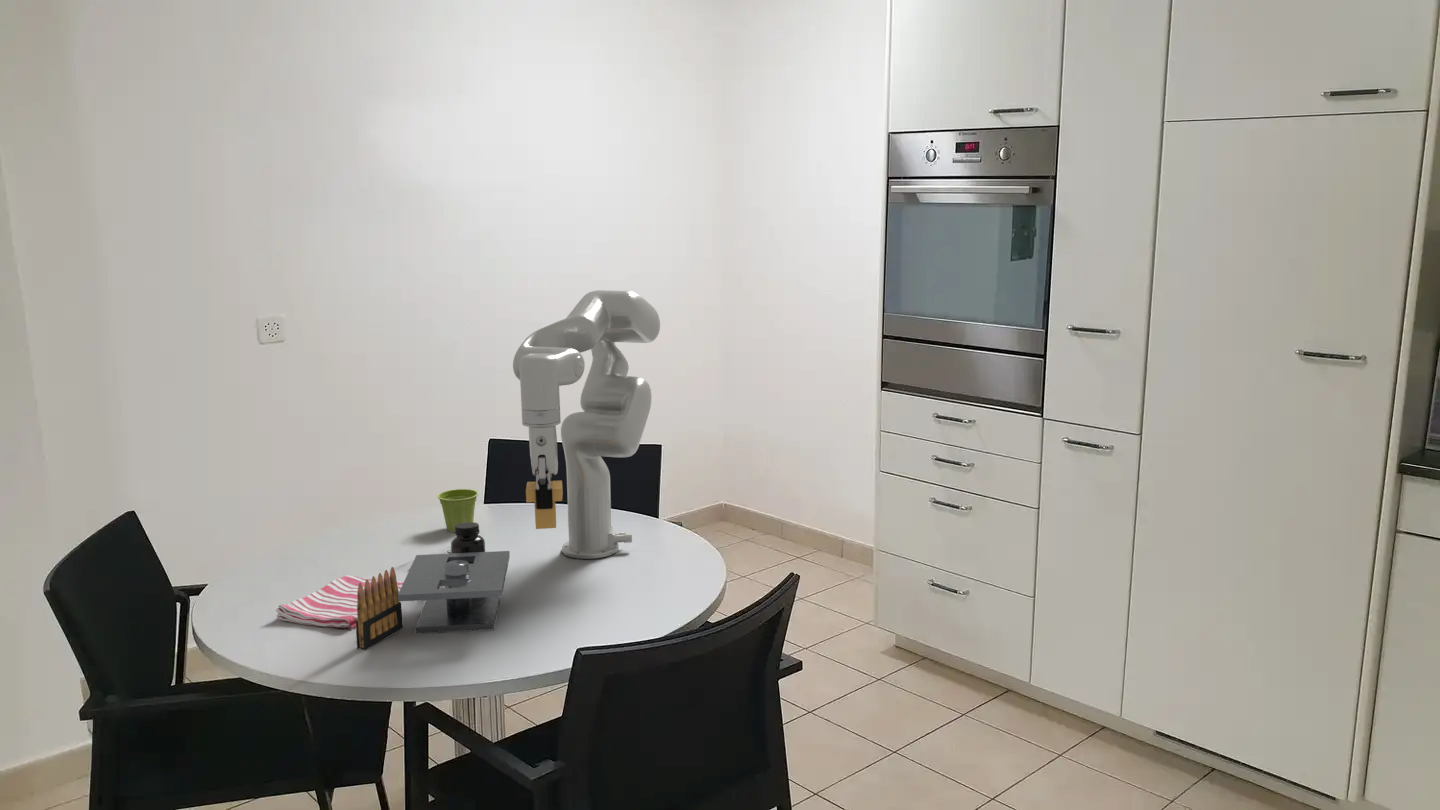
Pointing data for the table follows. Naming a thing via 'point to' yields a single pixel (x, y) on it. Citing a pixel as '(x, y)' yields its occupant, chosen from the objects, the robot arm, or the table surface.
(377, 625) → the ammunition clip
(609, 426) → the robot arm
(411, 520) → the table surface
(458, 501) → the plant pot
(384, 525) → the table surface
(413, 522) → the table surface
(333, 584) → the dish towel
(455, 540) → the supplement bottle
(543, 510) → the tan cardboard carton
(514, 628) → the table surface
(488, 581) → the gray tiered stand
